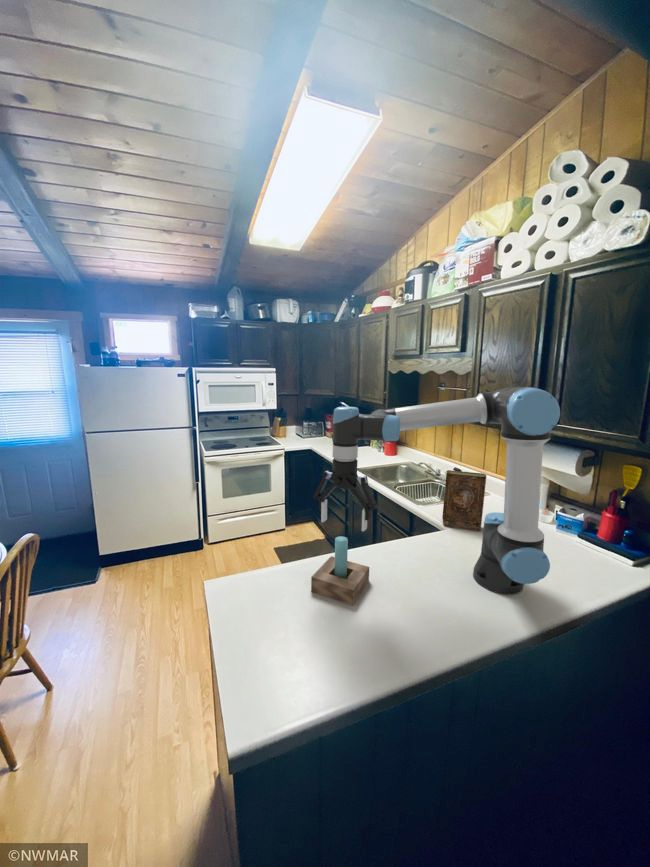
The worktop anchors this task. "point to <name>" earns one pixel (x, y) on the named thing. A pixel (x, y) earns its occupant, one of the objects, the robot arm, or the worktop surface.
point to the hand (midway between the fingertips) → (343, 525)
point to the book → (464, 500)
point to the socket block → (340, 581)
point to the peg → (341, 557)
